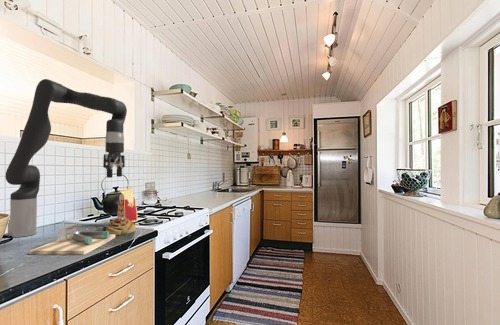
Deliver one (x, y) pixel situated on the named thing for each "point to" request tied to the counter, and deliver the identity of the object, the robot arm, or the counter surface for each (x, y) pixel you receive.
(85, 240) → the tong arm
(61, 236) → the grey l-shaped block
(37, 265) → the counter surface
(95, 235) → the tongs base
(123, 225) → the pastry
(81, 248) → the board
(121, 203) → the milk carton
